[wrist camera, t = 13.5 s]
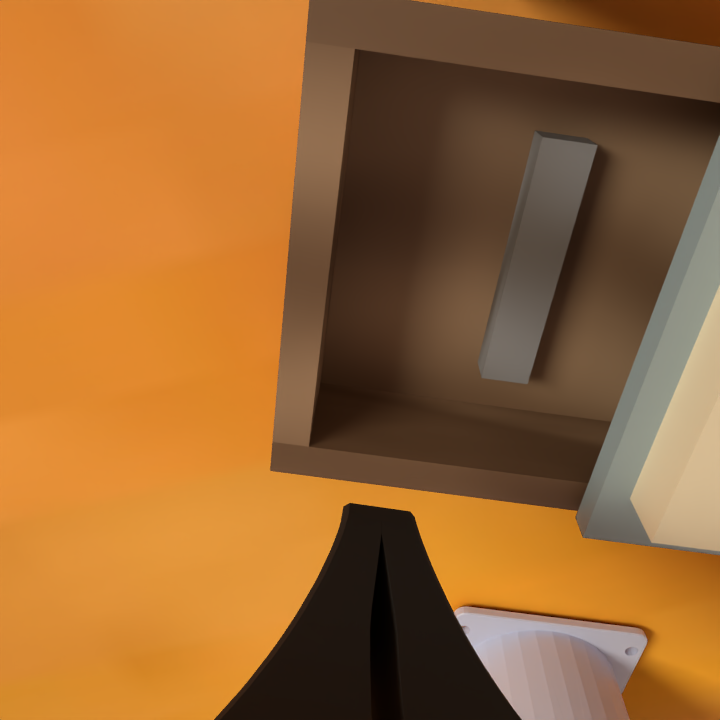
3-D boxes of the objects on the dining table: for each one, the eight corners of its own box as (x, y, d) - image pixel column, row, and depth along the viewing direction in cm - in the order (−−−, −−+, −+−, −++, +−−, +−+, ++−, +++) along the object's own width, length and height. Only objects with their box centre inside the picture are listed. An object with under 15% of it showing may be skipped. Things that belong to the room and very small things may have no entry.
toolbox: (719, 446, 23) (788, 538, 19) (291, 389, 23) (269, 470, 19) (897, 75, 17) (1048, 96, 13) (329, -10, 17) (310, -15, 13)
